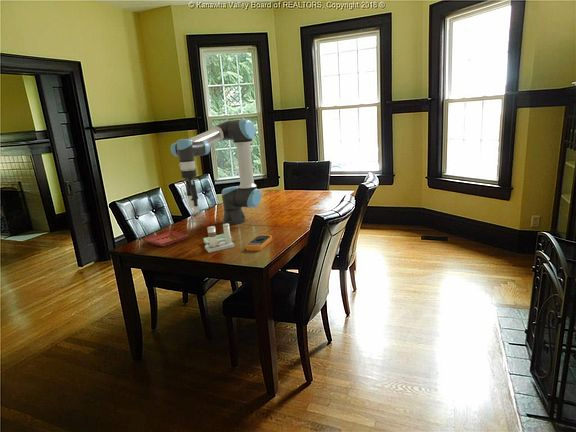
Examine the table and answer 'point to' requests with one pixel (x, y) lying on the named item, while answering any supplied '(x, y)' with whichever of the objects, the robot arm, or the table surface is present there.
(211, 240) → the fuse
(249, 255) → the table surface
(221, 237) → the parts tray
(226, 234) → the fuse
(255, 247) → the multimeter
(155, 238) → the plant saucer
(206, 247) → the fuse panel
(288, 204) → the table surface
